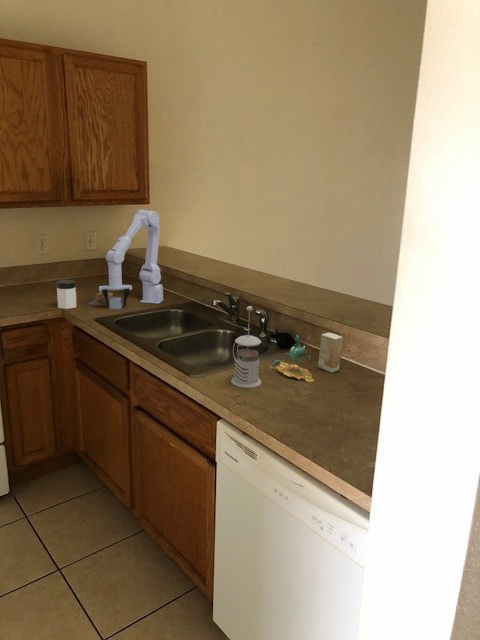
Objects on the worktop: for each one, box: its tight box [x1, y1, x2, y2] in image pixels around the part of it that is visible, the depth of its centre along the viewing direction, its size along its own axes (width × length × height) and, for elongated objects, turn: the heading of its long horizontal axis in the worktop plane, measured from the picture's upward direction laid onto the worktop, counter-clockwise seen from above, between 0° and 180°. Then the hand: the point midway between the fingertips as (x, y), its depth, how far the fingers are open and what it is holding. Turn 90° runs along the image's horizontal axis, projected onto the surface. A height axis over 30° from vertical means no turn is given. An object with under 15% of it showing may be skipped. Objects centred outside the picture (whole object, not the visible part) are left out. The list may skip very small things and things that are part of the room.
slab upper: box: [95, 291, 114, 300], centre depth 251 cm, size 6×6×2 cm
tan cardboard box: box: [95, 298, 110, 304], centre depth 252 cm, size 6×6×2 cm
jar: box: [56, 279, 77, 310], centre depth 241 cm, size 9×8×12 cm
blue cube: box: [109, 296, 124, 310], centre depth 243 cm, size 4×4×5 cm
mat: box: [87, 298, 110, 307], centre depth 252 cm, size 12×12×1 cm
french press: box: [230, 305, 262, 389], centre depth 165 cm, size 10×12×25 cm
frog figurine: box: [269, 334, 315, 383], centre depth 174 cm, size 10×18×15 cm, turn 41°
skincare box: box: [317, 332, 344, 373], centre depth 180 cm, size 6×4×12 cm
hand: (116, 305), depth 243 cm, fingers open, 7 cm apart
